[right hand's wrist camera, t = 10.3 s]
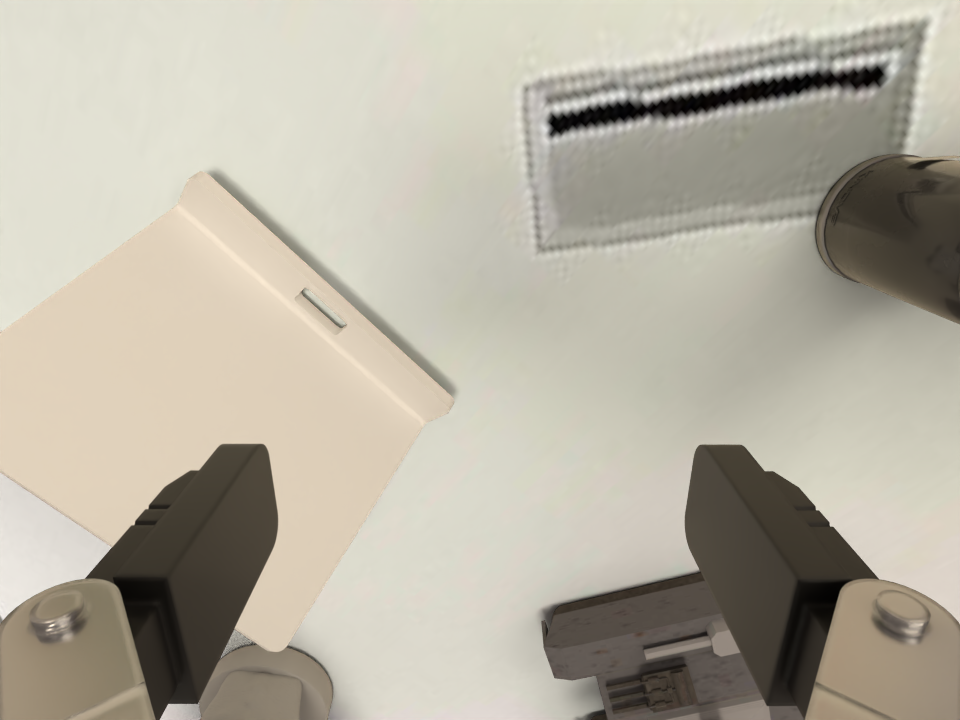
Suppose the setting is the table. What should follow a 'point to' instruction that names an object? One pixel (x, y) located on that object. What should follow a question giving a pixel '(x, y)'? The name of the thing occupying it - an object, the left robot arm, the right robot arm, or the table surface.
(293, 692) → the bust sculpture
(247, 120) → the table surface
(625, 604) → the toy
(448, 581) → the table surface
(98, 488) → the tablet stand
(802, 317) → the table surface
